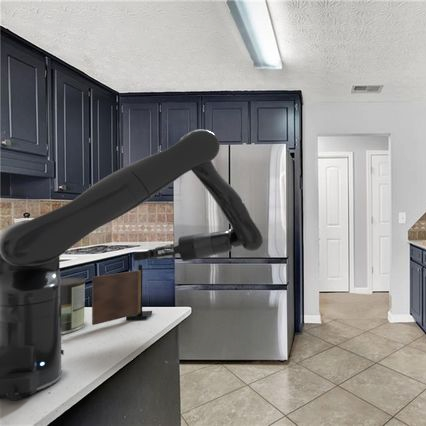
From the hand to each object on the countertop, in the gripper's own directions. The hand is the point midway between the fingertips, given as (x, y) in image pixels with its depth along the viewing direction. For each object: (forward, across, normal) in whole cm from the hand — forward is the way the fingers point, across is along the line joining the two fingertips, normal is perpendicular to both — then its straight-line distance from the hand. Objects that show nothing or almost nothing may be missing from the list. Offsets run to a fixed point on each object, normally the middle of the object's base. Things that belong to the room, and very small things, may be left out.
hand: (134, 257), depth 88 cm
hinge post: (+5, -13, +20) cm, 24 cm away
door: (+9, -9, +18) cm, 22 cm away
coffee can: (+23, -9, +17) cm, 30 cm away
